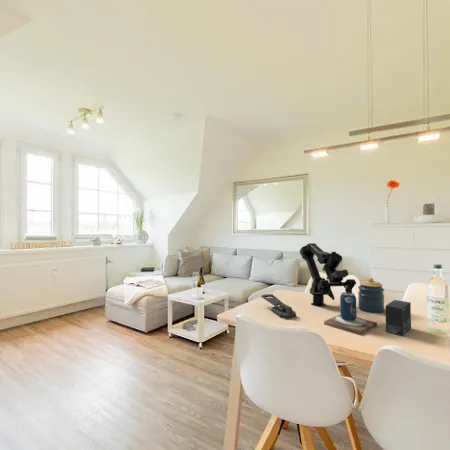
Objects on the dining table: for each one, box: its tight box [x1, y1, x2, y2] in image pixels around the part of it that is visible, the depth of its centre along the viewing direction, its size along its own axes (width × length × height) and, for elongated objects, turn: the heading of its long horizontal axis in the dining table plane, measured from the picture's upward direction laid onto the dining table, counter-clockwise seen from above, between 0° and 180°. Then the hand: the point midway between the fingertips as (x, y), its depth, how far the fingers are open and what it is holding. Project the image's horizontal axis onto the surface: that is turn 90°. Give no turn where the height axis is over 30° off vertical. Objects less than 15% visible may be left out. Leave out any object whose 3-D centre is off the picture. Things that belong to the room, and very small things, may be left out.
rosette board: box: [323, 314, 378, 336], centre depth 131 cm, size 17×17×3 cm
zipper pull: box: [260, 293, 297, 320], centre depth 152 cm, size 9×7×25 cm
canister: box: [357, 277, 385, 314], centre depth 154 cm, size 13×13×18 cm
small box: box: [384, 299, 412, 337], centre depth 124 cm, size 13×7×12 cm, turn 133°
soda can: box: [339, 291, 358, 321], centre depth 131 cm, size 7×7×12 cm
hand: (342, 299), depth 137 cm, fingers open, 9 cm apart
